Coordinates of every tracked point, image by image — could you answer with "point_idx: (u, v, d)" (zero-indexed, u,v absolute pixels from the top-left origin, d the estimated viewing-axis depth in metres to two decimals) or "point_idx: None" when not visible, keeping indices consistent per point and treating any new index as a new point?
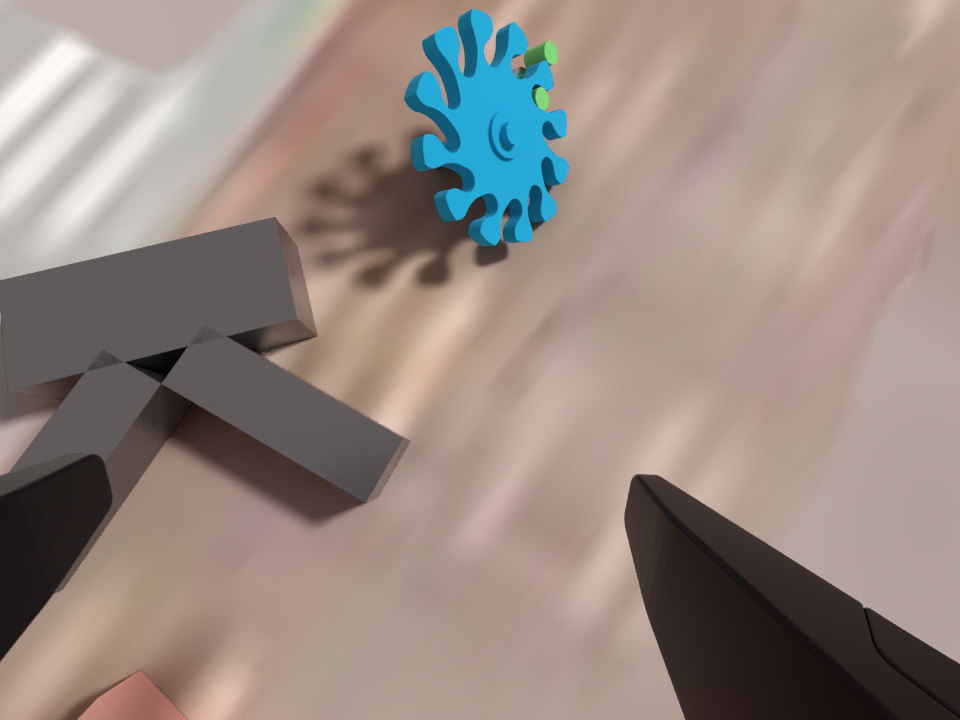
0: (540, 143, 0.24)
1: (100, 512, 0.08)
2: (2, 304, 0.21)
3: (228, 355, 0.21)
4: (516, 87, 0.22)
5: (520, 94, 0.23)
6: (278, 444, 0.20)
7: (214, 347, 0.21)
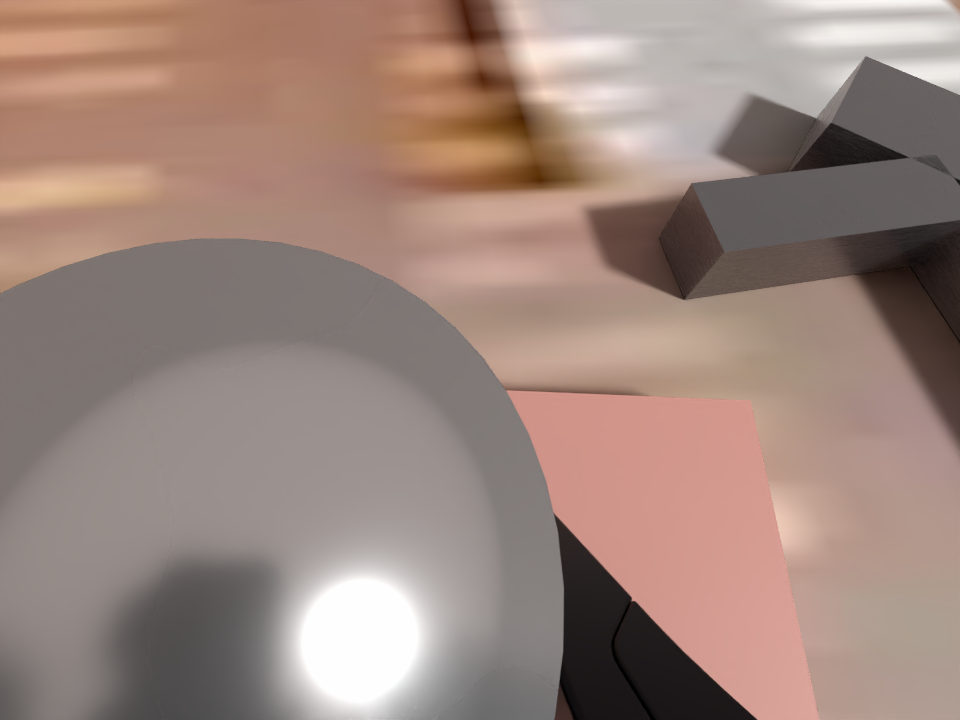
0: None
1: None
2: (855, 73, 0.20)
3: None
4: None
5: None
6: None
7: None
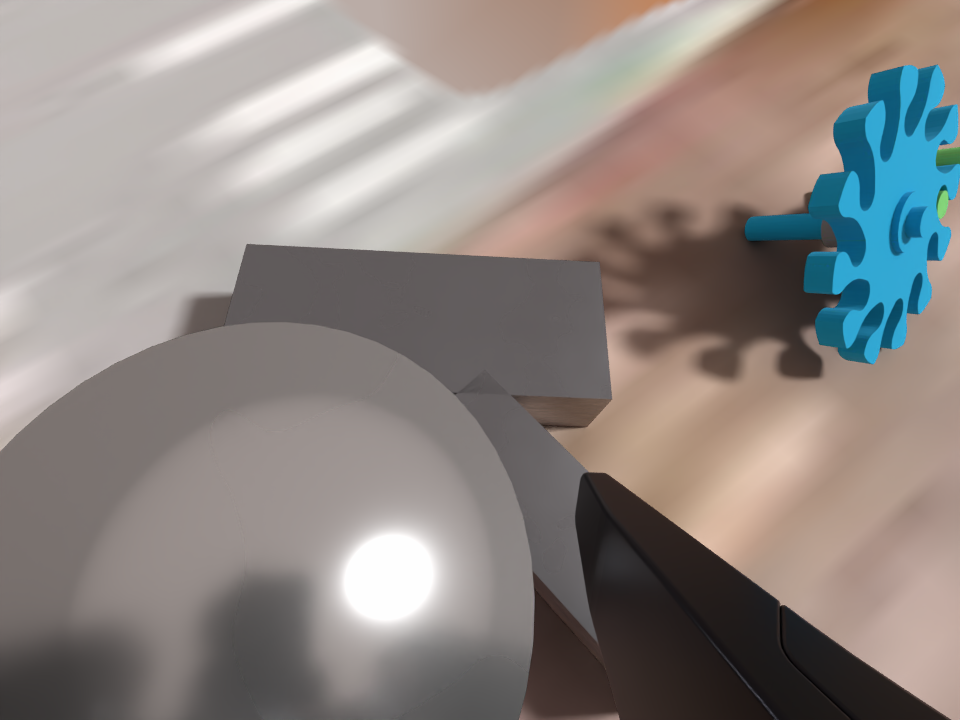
0: (923, 254, 0.18)
1: None
2: (241, 273, 0.16)
3: (509, 422, 0.14)
4: (931, 176, 0.17)
5: (931, 186, 0.17)
6: (559, 584, 0.12)
7: (492, 405, 0.14)
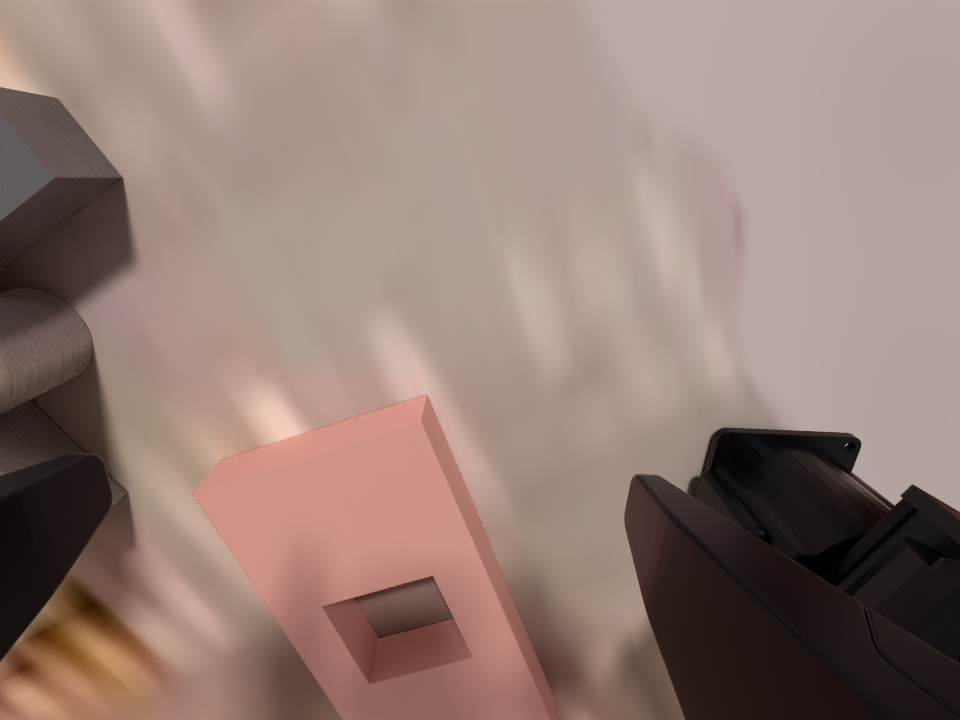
0: None
1: (100, 512, 0.08)
2: None
3: None
4: None
5: None
6: None
7: None
